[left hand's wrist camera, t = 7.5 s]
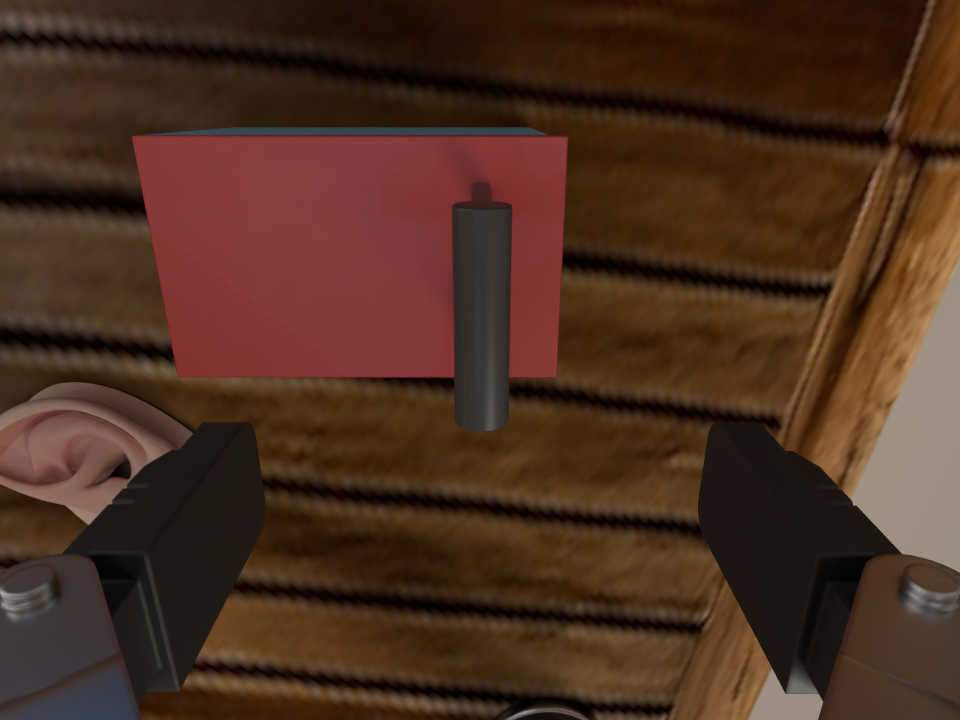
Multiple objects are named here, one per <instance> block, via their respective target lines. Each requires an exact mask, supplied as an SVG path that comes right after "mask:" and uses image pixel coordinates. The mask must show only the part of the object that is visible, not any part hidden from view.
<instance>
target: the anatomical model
mask: <svg viewBox="0 0 960 720" xmlns="http://www.w3.org/2000/svg"><path fill="white" fill-rule="evenodd" d="M192 434H193V433H192V432H191V431H190V430H188V429H187V428H185V427H184V426H183V425H181V424H180V423H178V422H177V421H175V420H174V419H172V418H171V417H169V416H168V415H166V414H164V413H163V412H161V411H159V410H158V409H156V408H154V407H153V406H151V405H149V404H147V403H145V402H143V401H141V400H139V399H137V398H135V397H133V396H131V395H128V394H126V393H123V392H121V391H118V390H115V389H112V388H109V387H105V386H101V385H96V384H90V383H81V382H67V383H60V384H56V385H52V386H50V387H48V388H46V389H44V390H42V391H40V392H39V393H38V394H36V395H35V396H34V397H32V398H31V399H30V400H29V401H28V402H24V403H22V404H19V405H17V406H14V407H13V408H11V409H9V410H7V411H5V412H4V413H2V414H1V415H0V484H2V485H4V486H6V487H8V488H11V489H13V490H15V491H18V492H20V493H23V494H26V495H29V496H32V497H35V498H38V499H41V500H44V501H49V502H53V503H57V504H61V505H66V506H67V507H68V508H69V509H70V510H71V511H72V512H74V513H75V514H76V515H77V516H78V517H79V518H81V519H82V520H83V521H84V522H86V523H87V524H88V525H89V524H90V523H91V522H92V521H93V520H94V519H95V518H96V517H97V516H98V515H99V514H100V513H101V512H102V510H103V509H104V508H105V507H106V506H107V505H108V504H112V500H113V499H114V498H115V497H116V496H117V494H118V493H119V492H120V491H121V490H122V489H123V488H127V484H128V483H129V482H130V481H131V480H132V478H133V477H134V476H135V475H136V474H137V473H138V472H139V471H140V470H141V469H142V468H143V467H144V466H145V465H147V464H148V463H150V462H152V461H153V460H155V459H157V458H159V457H160V456H162V455H164V454H165V453H167V452H169V451H170V450H179V449H180V448H181V447H182V446H183V444H184V443H185V442H186V441H187V440H188V439H189V438H190V437H191V435H192Z"/></svg>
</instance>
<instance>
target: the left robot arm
mask: <svg viewBox="0 0 960 720" xmlns="http://www.w3.org/2000/svg"><path fill="white" fill-rule="evenodd" d="M698 515H699V522H700V527H701V531H702V534H703V536H704V538H705V540H706V542H707V544H708V546H709V548H710V550H711V552H712V553H713V555H714V557H715V559H716V561H717V563H718V565H719V567H720V569H721V571H722V573H723V575H724V577H725V578H726V580H727V582H728V584H729V586H730V588H731V590H732V592H733V594H734V596H735V598H736V600H737V601H738V603H739V605H740V607H741V609H742V611H743V613H744V615H745V617H746V619H747V621H748V623H749V625H750V626H751V628H752V630H753V632H754V634H755V636H756V638H757V640H758V642H759V644H760V646H761V648H762V649H763V651H764V653H765V655H766V657H767V659H768V661H769V663H770V665H771V667H772V669H773V671H774V672H775V674H776V676H777V678H778V680H779V682H780V684H781V686H782V688H783V690H784V692H785V694H819V695H820V697H821V698H822V700H823V705H822V708H821V712H820V715H819V719H818V720H960V573H959V572H957V571H955V570H953V569H951V568H949V567H947V566H945V565H942V564H940V563H937V562H934V561H931V560H928V559H925V558H921V557H916V556H912V555H904V554H902V553H901V552H900V551H899V550H898V549H897V548H896V547H895V546H894V545H893V544H892V543H891V542H890V541H889V540H888V539H887V538H886V536H885V535H884V534H883V533H882V532H881V531H880V530H879V529H878V528H877V527H876V526H875V525H874V524H873V523H872V522H871V521H870V520H869V519H868V517H867V516H866V515H865V514H864V513H863V512H862V511H861V510H860V509H859V508H858V507H857V506H853V502H852V501H851V499H850V498H849V497H848V496H847V495H846V494H845V493H844V492H843V491H842V490H838V486H837V485H836V484H835V483H834V481H833V480H832V479H831V478H830V477H829V476H828V475H827V474H826V473H825V472H824V471H823V470H822V469H821V468H820V467H819V466H817V465H816V464H814V463H812V462H810V461H809V460H807V459H805V458H804V457H802V456H800V455H798V454H797V453H795V452H793V451H785V450H784V449H783V448H782V447H781V446H780V444H779V443H778V442H777V441H776V440H775V439H774V438H773V436H772V435H771V434H770V433H769V432H768V431H767V430H766V429H765V427H764V426H763V425H761V424H759V423H715V424H713V425H712V427H711V429H710V431H709V434H708V440H707V446H706V453H705V460H704V466H703V473H702V480H701V486H700V493H699V500H698ZM264 516H265V496H264V490H263V483H262V476H261V469H260V463H259V456H258V449H257V442H256V436H255V432H254V429H253V427H252V425H251V424H250V423H249V422H204V423H202V424H201V425H200V426H199V427H198V429H197V430H196V431H195V432H194V433H193V434H192V435H191V437H190V438H189V439H188V440H187V441H186V442H185V443H184V444H183V446H182V447H181V448H180V449H179V450H170V451H169V452H167V453H165V454H164V455H162V456H160V457H159V458H157V459H155V460H153V461H152V462H150V463H148V464H147V465H145V466H144V467H143V468H142V469H141V470H140V471H139V472H138V473H137V474H136V475H135V476H134V477H133V478H132V480H131V481H130V482H129V483H128V484H127V488H123V489H122V490H121V491H120V492H119V493H118V494H117V496H116V497H115V498H114V499H113V500H112V504H108V505H107V506H106V507H105V508H104V509H103V510H102V512H101V513H100V514H99V515H98V516H97V517H96V518H95V519H94V520H93V521H92V522H91V523H90V524H89V525H88V527H87V528H86V529H85V530H84V531H83V532H82V533H81V534H80V535H79V536H78V537H77V538H76V539H75V540H74V541H73V543H72V544H71V545H70V546H69V547H68V548H67V549H66V550H65V551H64V552H63V553H62V554H56V555H48V556H44V557H39V558H35V559H32V560H29V561H26V562H23V563H20V564H18V565H15V566H13V567H11V568H9V569H7V570H5V571H3V572H1V573H0V720H142V719H141V715H140V712H139V708H138V705H139V704H140V702H141V700H142V698H143V697H144V695H145V693H146V692H179V691H180V689H181V687H182V685H183V683H184V681H185V679H186V677H187V676H188V674H189V672H190V670H191V668H192V666H193V664H194V662H195V660H196V658H197V656H198V654H199V652H200V650H201V648H202V646H203V644H204V643H205V641H206V639H207V637H208V635H209V633H210V631H211V629H212V627H213V625H214V623H215V621H216V619H217V617H218V615H219V613H220V611H221V609H222V608H223V606H224V604H225V602H226V600H227V598H228V596H229V594H230V592H231V590H232V588H233V586H234V584H235V582H236V580H237V578H238V576H239V575H240V573H241V571H242V569H243V567H244V565H245V563H246V561H247V559H248V557H249V555H250V553H251V551H252V549H253V547H254V545H255V543H256V541H257V540H258V538H259V536H260V533H261V530H262V527H263V523H264ZM496 720H596V719H595V718H594V717H593V716H592V715H591V714H590V713H589V712H587V711H586V710H584V709H582V708H581V707H578V706H576V705H574V704H571V703H567V702H563V701H556V700H538V701H531V702H527V703H523V704H520V705H518V706H515V707H513V708H511V709H509V710H507V711H506V712H504V713H503V714H502V715H500V716H499V717H498V718H497V719H496Z"/></svg>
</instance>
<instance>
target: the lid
mask: <svg viewBox="0 0 960 720" xmlns="http://www.w3.org/2000/svg"><path fill="white" fill-rule="evenodd" d="M132 140H133V145H134V150H135V156H136V161H137V166H138V171H139V176H140V182H141V187H142V192H143V197H144V202H145V208H146V213H147V218H148V223H149V228H150V234H151V239H152V244H153V249H154V255H155V260H156V265H157V270H158V275H159V281H160V286H161V291H162V296H163V301H164V307H165V312H166V317H167V322H168V327H169V333H170V338H171V343H172V348H173V354H174V359H175V364H176V369H177V374H178V377H454V388H455V421H456V423H457V424H458V425H459V426H460V427H462V428H464V429H467V430H471V431H478V432H485V431H493V430H497V429H499V428H501V427H503V426H505V425H506V423H507V422H508V417H509V377H556V376H557V357H558V336H559V316H560V295H561V275H562V254H563V233H564V213H565V192H566V172H567V151H568V136H565V135H137V136H133V137H132Z"/></svg>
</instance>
